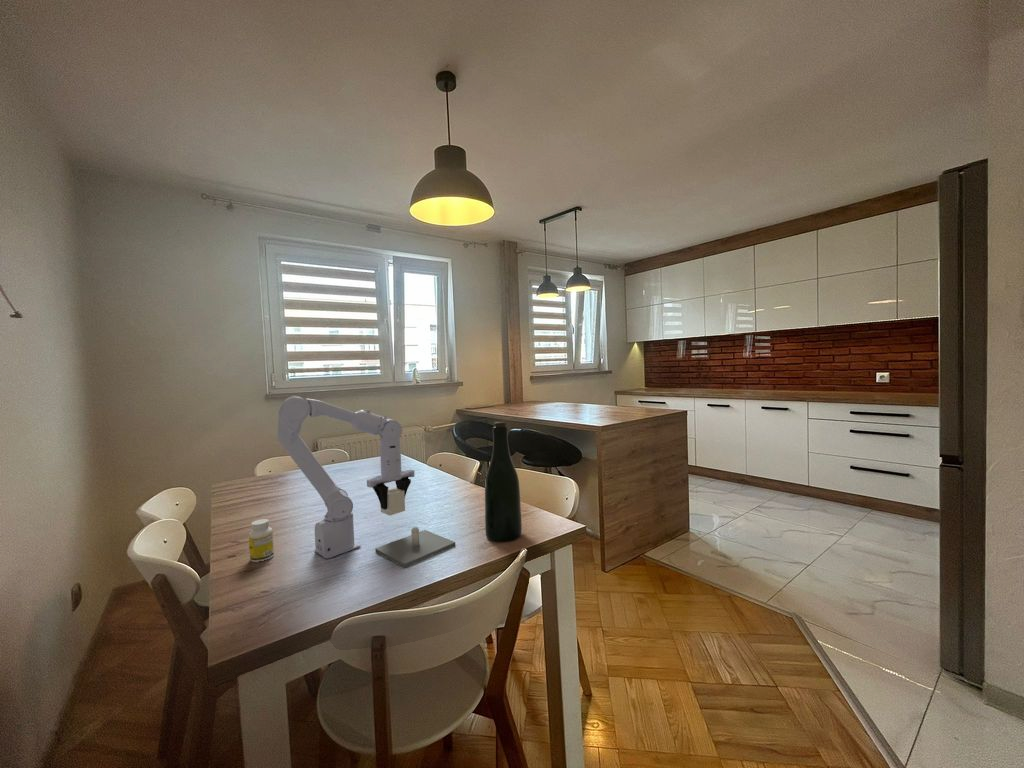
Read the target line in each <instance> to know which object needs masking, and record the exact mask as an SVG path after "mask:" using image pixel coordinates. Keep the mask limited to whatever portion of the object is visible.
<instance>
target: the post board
mask: <svg viewBox="0 0 1024 768" xmlns="http://www.w3.org/2000/svg"><path fill="white" fill-rule="evenodd" d="M453 547H456V542H455V541H453V540H451V539H449V538H446V537H443V536H442V535H439V534H436V533H433V532H432V531H429V530H427V529H423V530H421V531H420V529H419V527H418V526H413V527H412V528H411V534H410V535H407V536H405V537H402V538H400V539H397V540H395V541H392V542H389V543H386V544H383V545H381V546H379V547H375V550H374V551H375V553H376V552H377V554H378V553H379V554H378V555H380V556H382V557H384V558H385V557H386V559H388V560H389V561H391V562H393V563H395V564H396V563H397V564H396V565H399V566H401V567H402V568H404V569H405V567H406V568H408V567H410V566H413V565H414V563H415V564H417V563H420V562H421V560H422V561H424V560H427V559H428V558H431V557H433V556H435V555H439V554H440V553H442V552H444V551H447V550H448V549H450V548H451V549H452V548H453ZM412 564H413V565H412ZM407 566H408V567H407Z"/></svg>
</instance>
